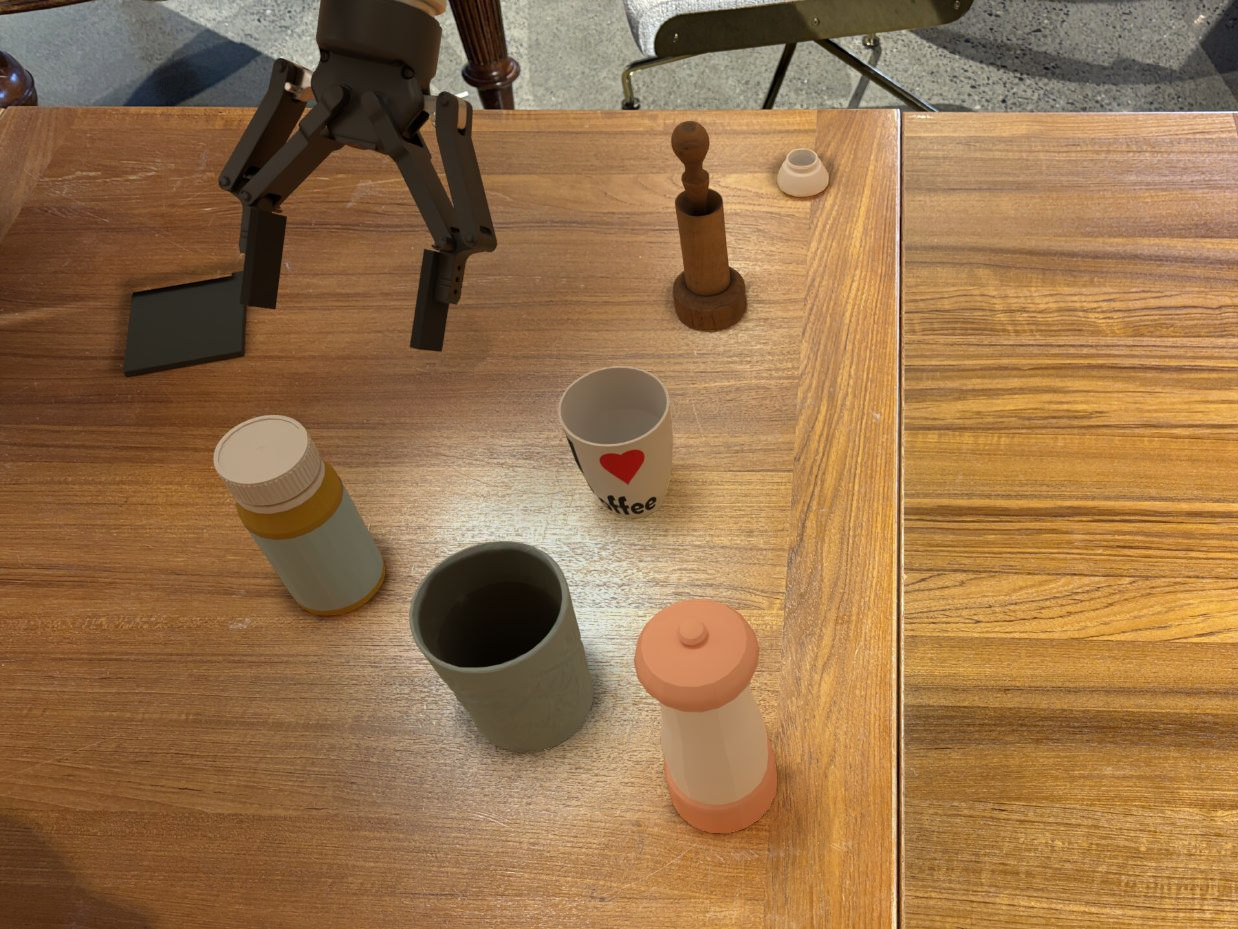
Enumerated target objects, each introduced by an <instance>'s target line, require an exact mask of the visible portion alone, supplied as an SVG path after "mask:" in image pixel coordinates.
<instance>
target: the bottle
mask: <svg viewBox="0 0 1238 929" xmlns="http://www.w3.org/2000/svg"><path fill="white" fill-rule="evenodd" d="M213 465H214V468H215V472H216V473H217V475H218V476H219V478H220V479H221V481H222V482H223V484H224V485H225V487H226V489H227V490H228V492H229V493H230V494H231V495H232V497H233V499H235V506H236V511H237V516H238V518H239V519H240V520H241V522H242V524H243V526H244V528H245V529H246V530H247V531H248V533H249V535H250V537H251V538H252V539H253V540H254V542H255V543H256V545H257V546H258V548H259V549H260V551H261V552H262V554H263V555H264V557H265V558H266V559H267V562H268V563H269V564H270V566H271V567H272V569H273V570H274V571H275V573H276V574H277V576H278V578H279V579H280V581H281V582H282V584H283V585H284V587H285V588H286V590H287V591H288V592H289V593H290V595H291V596H292V597H293V600H295V602H296V603H297V604H298V605H299V607H300V608H301V609H303V610H305V611H307V612H309V613H311V614H313V615H320V616H335V615H336V616H337V615H344V614H347V613H349V612H351V611H356V610H357V609H359V608H360V607H362V606H363V605H365V604H367V603H368V602H369V600H371V599H372V598H373V597H374V596H375V595H376V593H378V591H379V590H380V589H381V586H382V584H383V582H384V580H385V576H386V569H387V568H386V563H385V559H384V557H383V555H382V552H381V551H380V549H379V547H378V545H377V544H376V541H375V540H374V538H373V536H372V534H371V532H370V531H369V528H368V527H367V525H366V523H365V521H364V519H363V517H362V515H361V514H360V511H359V510H358V509H357V507H356V505H355V503H354V501H353V499H352V497H351V495H350V494H349V492H348V490H347V488H346V487H345V485H344V483H343V481H342V478H341V477H340V476H339V474H338V473H337V471H336V470H335V469H334V468H333V466H332V465H331V464H329V463H328V462H327V461H326V460H324V459H323V458H322V457H321V455H320V452H319V449H318V448H317V446H316V444H315V443H314V441H313V439H312V437H311V435H310V434H309V432H308V430H307V429H306V428H305V426H304V425H302V424H301V423H300V422H299V421H297V420H296V419H294V418H292V417H290V416H286V415H280V414H268V415H261V416H257V417H253V418H250V419H248V420H245V421H243V422H241V423H239V424H237V425H236V426H234V427H233V428H231V429H229V431H227V433H225V434H224V435H223V436H222V437H221V438H220V440H219V441H218V443H217V444H216V447H215V449H214V452H213Z"/></svg>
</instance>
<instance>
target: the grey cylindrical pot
mask: <svg viewBox="0 0 1238 929" xmlns="http://www.w3.org/2000/svg"><path fill="white" fill-rule="evenodd" d="M408 622H409V630H410V632H411V636H412V639H413V641H414V643H415V646H417V648H418V649H419V651H420V652H421V654H422V655H423V656H424V658H425V659H426V660H427V661H428V663H429V664H430V666H431V667H432V669H434V671H435V673H437V675H438V676H439V677H440V678H441V680H442V681H443V682H444V683H445V684H446V685H447V686H448V688H449V689H450V691H452V692H453V693H454V695H455V699H456V700H457V701H458V702H459V703H460V704H461V706H462V707H463V709H465V710H466V711H467V713H468V714H469V716H470V717H471V720H472V722H473V724H474V726H475V728H477V730H478V731H479V733H480V734H481V735H482V736H483V737H484V738H485V740H487V741H489V742H490V743H491V744H495V745H496V746H495V745H494V746H495V747H498V748H500V749H502V750H505V749H507V751H509V752H514V751H516V752H515V753H527V752H528V753H533V752H532V751H535V752H534V753H537V752H536V751H538V750H544V749H547V750H549V749H548V748H550V749H552V748H551V747H553V746H555V747H557V746H556V745H558V744H559V743H561V742H563V741H564V742H566V741H567V740H568V739H567V738H569V737H570V736H571V735H572V736H574V735H575V734H576V733H577V732H578V731H579V730H580V729H581V728H582V726H583V725H584V723H585V722H586V721H587V719H588V717H589V715H590V713H591V710H592V707H593V706H592V705H593V703H594V697H595V696H594V694H595V688H594V682H593V678H592V674H591V672H590V669H589V664H588V659H587V654H586V651H585V646H584V643H583V641H582V634H581V631H580V627H579V623H578V619H577V616H576V612H575V609H574V603H573V599H572V596H571V593H570V588H569V584H568V581H567V579H566V576H565V574H564V572H563V570H562V568H561V566H560V565H559V563H558V562H557V561H556V560H555V559H554V558H553V556H551V555H549V554H548V553H547V552H545V551H544V550H542V549H540V548H538V547H536V546H534V545H531V544H527V543H524V542H521V541H519V542H518V541H514V540H513V541H512V540H496V541H495V540H494V541H486V542H482V543H477V544H474V545H470V546H468V547H467V546H466V547H465V548H463V549H460V550H459V551H456V552H454V553H451V555H449V556H447V557H445V558H444V559H443V560H441V561H440V562H439V563H438V564H436V565H435V566H434V567H433V568H432V569H430V570H429V572H427V574H426V575H424V577H423V579H422V580H421V581H420V582H419V584H418V586H417V588H416V589H415V592H414V594H413V596H412V598H411V603H410V607H409V612H408ZM592 702H593V703H592ZM589 712H590V713H589ZM588 714H589V715H588ZM587 716H588V717H587ZM586 718H587V719H586ZM584 721H585V722H584ZM582 724H583V725H582ZM581 725H582V726H581ZM580 727H581V728H580ZM579 728H580V729H579ZM578 729H579V730H578ZM577 730H578V731H577ZM576 731H577V732H576ZM575 732H576V733H575ZM574 733H575V734H574ZM573 734H574V735H573ZM572 736H571V737H572ZM571 737H570V738H571ZM570 738H569V739H570ZM566 739H567V740H566ZM565 740H566V741H565ZM564 742H563V743H564ZM561 744H562V743H561ZM559 745H560V744H559ZM559 745H558V746H559ZM553 748H554V747H553ZM544 751H545V750H544ZM538 752H539V751H538Z"/></svg>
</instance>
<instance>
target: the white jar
mask: <svg viewBox="0 0 1238 929" xmlns="http://www.w3.org/2000/svg"><path fill="white" fill-rule="evenodd" d="M829 177H830V174H829V172H828V170H827V169H826V167H825V166H824V164H823V162H822V161H821V159H820V158H819V156H818V154H817V152H815V151H814V150H812V149H810V148H804V147H803V148H802V147H801V148H796V149H792V150H791V151H789V152H788V153H787V155H786V158H785V160H784V161H783V163H782V164H781V166H780V168H779V171H778V172H777V178H776V184H777V186H778V188H779V190H781V191H782V192H783V193H785V194H787V195H789V196H794V197H796V198H799V197H801V198H802V197H803V198H806V197H807V198H808V197H811V196H816V195H817V194H819V193H822V192H823V191H824V190H825V189H826V188H827V186H829V179H830V178H829Z"/></svg>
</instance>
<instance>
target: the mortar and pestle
mask: <svg viewBox="0 0 1238 929" xmlns="http://www.w3.org/2000/svg"><path fill="white" fill-rule="evenodd" d="M709 136H710V135H709V134H708V131H707V129H706V128H705V127H704V126H703V125H702V124H701V123H700V122H697V121H695V120H686V121H682V122H680V123H679V124H677V125H676V126H675V128H674V129H673V131H672V133H671V138H670V146H671V149H672V151H673V153H674V154H675V156H676V157H677V159H678V160H679V161H680V162H681V163H682V164H683V166H684V171H683V173H682V174H681V176H680V179H681V183H682V185H683V189H684V190H683V191H681V192H680V193H679V194H677V196H676V197H675V200H674V208H675V216H676V221H677V226H678V233H679V241H680V249H681V256H682V263H683V264H682V265H683V271H682V272H680V273H679V274H678V275H677V276H676V277H675V279H674V281H673V284H672V297H673V305H674V310H675V314H676V316H677V317H678V319H679V320H680V321H681V322H682V323H683V324H684V325H685V326H688V327H689V328H692V329H694V330H698V331H704V332H713V331H720V330H724V329H727V328H730V327H732V326H734V325H736V324H737V323H739V322H740V321H741V320H742V319H743V317H744V316H745V314H746V312H747V309H748V301H747V291H746V289H747V288H746V282H745V280H744V277H743V276H742V274H740V272H739V271H738V270H736V269H735V268H733V267H731V266H730V262H729V253H728V244H727V233H726V220H725V209H724V200H723V197H722V195H721V194H720V193H719V192H718V191H717V190H714V189H712V188H709V187H710V173H709V172H708V171H707V170H706V169H704V168H703V164H704V162H705V159H706V157H707V155H708V153H709V150H710V144H711V142H710V141H711V140H710V137H709Z"/></svg>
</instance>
